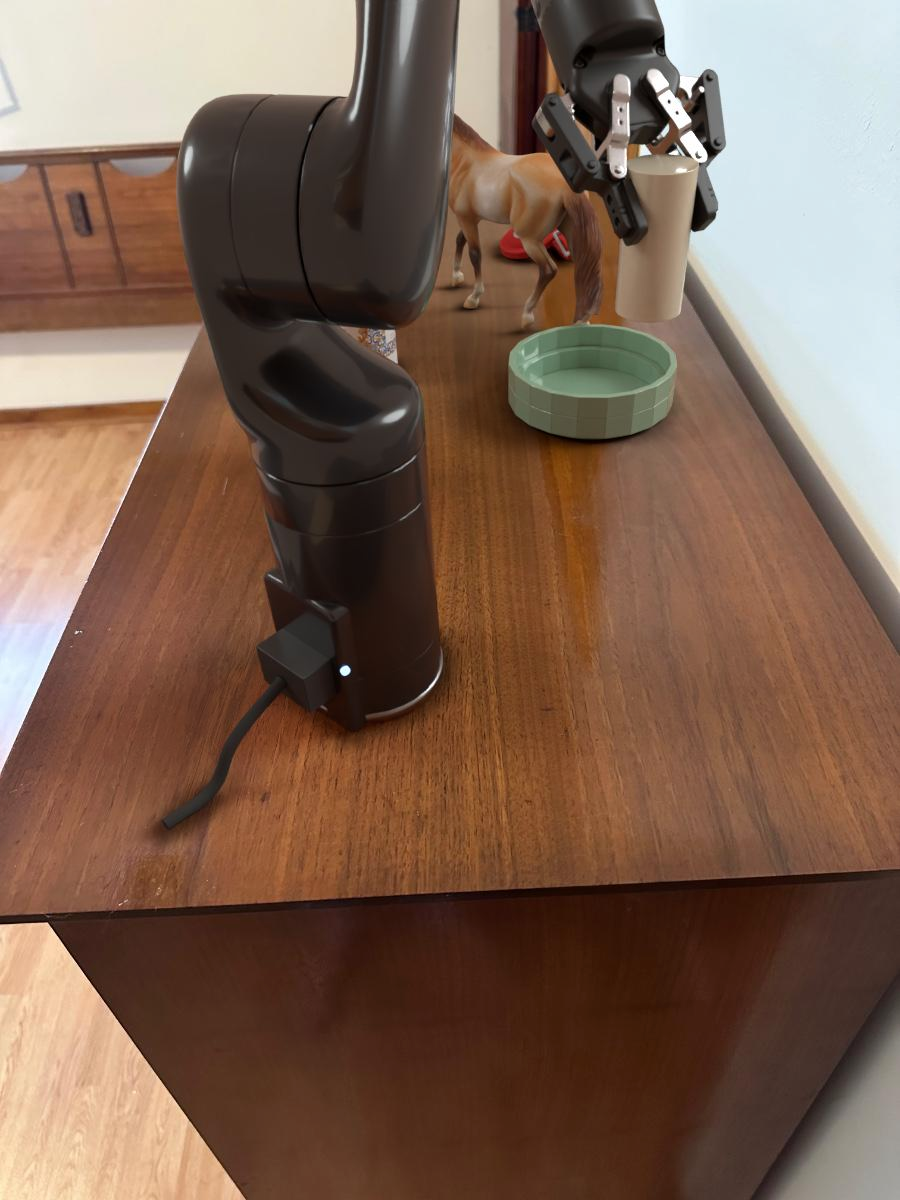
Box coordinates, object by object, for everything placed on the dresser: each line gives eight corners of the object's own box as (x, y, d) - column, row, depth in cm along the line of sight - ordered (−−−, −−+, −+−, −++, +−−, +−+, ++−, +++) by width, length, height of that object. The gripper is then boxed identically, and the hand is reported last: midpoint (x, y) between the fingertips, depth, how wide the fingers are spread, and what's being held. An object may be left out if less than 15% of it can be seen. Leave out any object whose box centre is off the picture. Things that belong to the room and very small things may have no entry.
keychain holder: (487, 251, 113) (509, 208, 118) (498, 281, 116) (519, 238, 121) (578, 237, 107) (597, 192, 113) (587, 269, 110) (605, 224, 116)
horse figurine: (400, 289, 108) (386, 98, 95) (449, 273, 112) (442, 86, 98) (585, 371, 89) (600, 146, 76) (637, 348, 93) (660, 130, 79)
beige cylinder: (657, 328, 63) (674, 178, 56) (601, 312, 66) (611, 167, 59) (693, 306, 66) (713, 160, 59) (638, 291, 68) (650, 150, 62)
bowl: (610, 461, 76) (614, 415, 73) (476, 409, 84) (475, 365, 81) (701, 395, 84) (708, 350, 82) (571, 353, 92) (573, 311, 90)
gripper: (515, -33, 55) (604, 222, 55) (707, -54, 59) (791, 183, 59) (481, 53, 62) (559, 279, 62) (654, 29, 66) (728, 241, 66)
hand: (671, 231), depth 60 cm, fingers closed on beige cylinder, 4 cm apart
